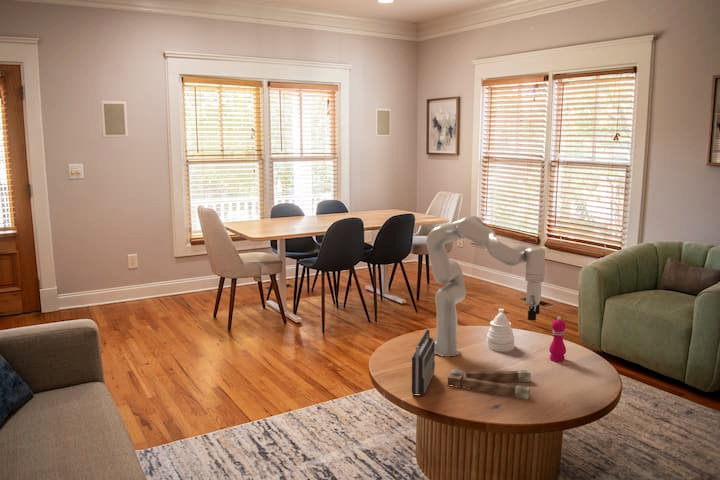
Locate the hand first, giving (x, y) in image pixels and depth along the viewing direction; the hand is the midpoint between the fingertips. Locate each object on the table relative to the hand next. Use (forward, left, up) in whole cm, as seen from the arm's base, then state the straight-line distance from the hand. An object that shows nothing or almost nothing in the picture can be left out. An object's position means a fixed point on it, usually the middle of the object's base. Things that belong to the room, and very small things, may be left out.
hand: (533, 316), depth 254 cm
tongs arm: (-11, -16, -24) cm, 31 cm away
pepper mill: (+8, +19, -25) cm, 32 cm away
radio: (-37, -31, -25) cm, 54 cm away
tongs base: (-12, -24, -24) cm, 37 cm away
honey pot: (-19, +25, -25) cm, 40 cm away
